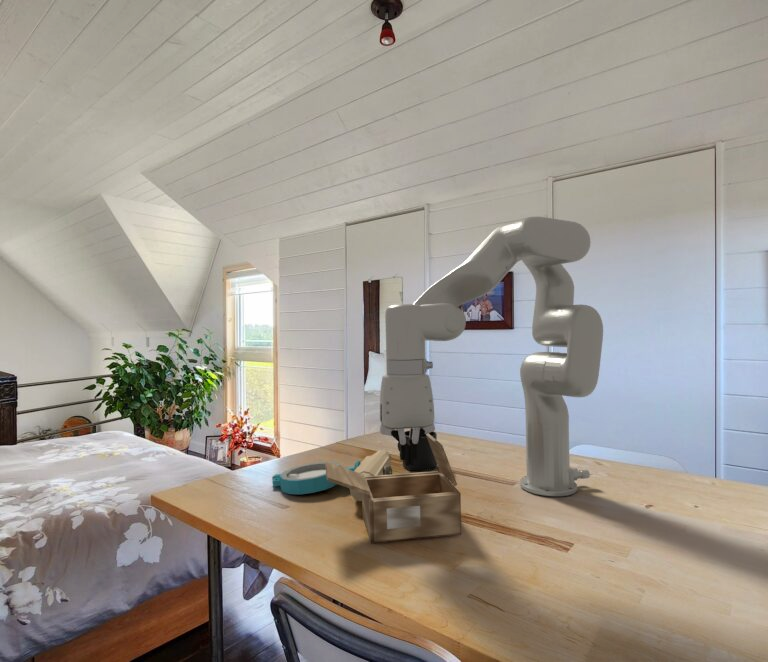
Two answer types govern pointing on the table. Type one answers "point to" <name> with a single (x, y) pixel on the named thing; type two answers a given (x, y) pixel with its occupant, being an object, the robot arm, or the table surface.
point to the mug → (422, 454)
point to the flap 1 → (346, 478)
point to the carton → (411, 507)
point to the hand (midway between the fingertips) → (408, 463)
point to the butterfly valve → (315, 477)
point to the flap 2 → (441, 459)
